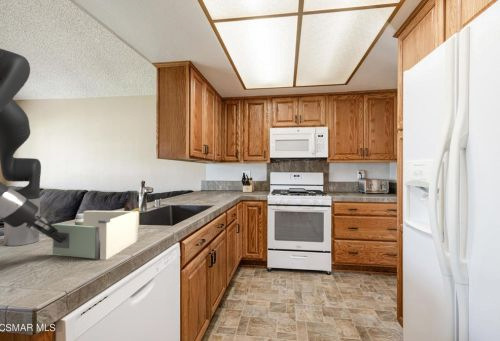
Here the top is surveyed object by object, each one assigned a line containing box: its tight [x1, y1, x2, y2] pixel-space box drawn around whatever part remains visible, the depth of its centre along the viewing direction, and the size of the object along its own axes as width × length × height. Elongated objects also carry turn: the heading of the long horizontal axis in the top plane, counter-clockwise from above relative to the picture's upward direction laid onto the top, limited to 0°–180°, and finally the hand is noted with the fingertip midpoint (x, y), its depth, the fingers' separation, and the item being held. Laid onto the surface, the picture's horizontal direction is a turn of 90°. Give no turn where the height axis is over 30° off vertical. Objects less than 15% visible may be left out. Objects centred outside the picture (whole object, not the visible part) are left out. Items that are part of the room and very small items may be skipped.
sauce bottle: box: [123, 189, 140, 232], centre depth 104 cm, size 6×6×20 cm
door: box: [52, 223, 100, 259], centre depth 77 cm, size 18×1×10 cm, turn 78°
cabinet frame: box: [83, 210, 139, 261], centre depth 86 cm, size 22×22×13 cm
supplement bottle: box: [74, 213, 83, 226], centre depth 102 cm, size 5×5×10 cm
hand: (62, 240), depth 76 cm, fingers closed
